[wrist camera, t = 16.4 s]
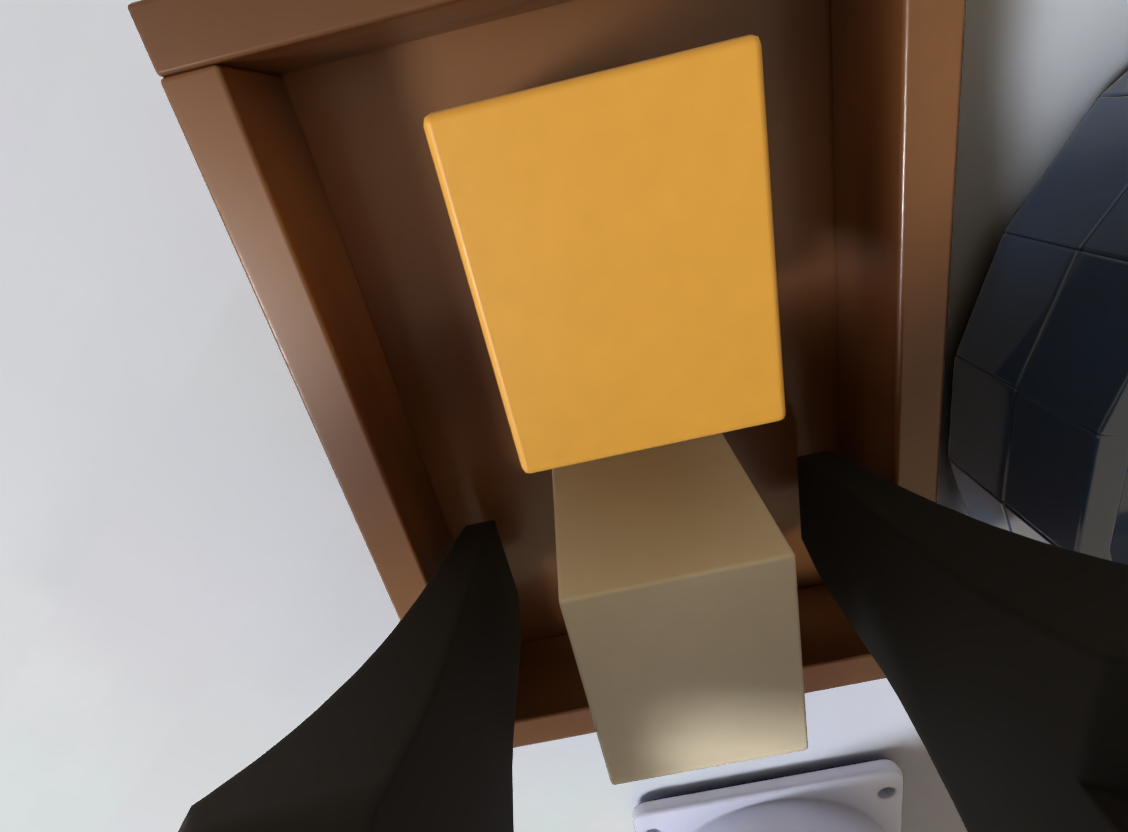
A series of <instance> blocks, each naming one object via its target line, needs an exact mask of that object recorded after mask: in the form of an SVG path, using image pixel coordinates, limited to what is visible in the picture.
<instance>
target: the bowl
mask: <svg viewBox="0 0 1128 832" xmlns="http://www.w3.org/2000/svg"><path fill="white" fill-rule="evenodd" d="M1005 232H1006V233H1005V234H1003V236H1002V238H1001V240H1000V243H999V245H998V248H997V250H996V253H995V255H994V258H993V260H992V263H991V266H990V268H989V271H988V273H987V276H986V278H985V281H984V283H983V286H982V288H981V291H980V294H979V296H978V299H977V301H976V304H975V306H974V309H973V311H972V314H971V316H970V319H969V322H968V324H967V327H966V329H965V332H964V334H963V337H962V339H961V342H960V344H959V347H958V350H957V356H955V358H954V372H953V387H952V402H951V417H950V433H949V448H948V457H949V462H950V465H951V468H952V471H953V474H954V477H955V479H956V482H957V485H958V488H959V491H960V494H961V497H962V500H963V502H964V505H965V508H966V511H967V514H968V516H969V517H972V518H974V519H977V520H980V521H982V522H985V523H988V524H990V525H993V526H996V527H999V528H1002V529H1005V530H1008V531H1011V532H1013V533H1016V534H1019V535H1022V536H1025V537H1028V538H1031V539H1034V540H1037V541H1041V542H1044V543H1047V544H1051V545H1054V546H1058V547H1061V548H1065V549H1068V550H1072V551H1076V552H1080V553H1083V554H1087V555H1091V556H1095V557H1098V558H1102V559H1106V560H1110V561H1114V562H1118V563H1123V564H1127V565H1128V71H1127V72H1125V73H1124V74H1123V75H1122V76H1121V77H1120V78H1119V79H1118V80H1117V81H1116V82H1114V83H1113V84H1112V85H1111V86H1110V87H1109V88H1108V89H1107V90H1106V91H1105V92H1103V93H1102V95H1101V97H1100V98H1098V99H1097V100H1096V102H1095V103H1094V104H1093V106H1092V107H1091V109H1090V110H1089V111H1088V113H1087V114H1086V116H1085V117H1084V119H1083V120H1082V121H1081V123H1080V124H1079V126H1078V127H1077V128H1076V130H1075V131H1074V133H1073V134H1072V135H1071V137H1070V138H1069V140H1068V141H1067V142H1066V144H1065V145H1064V147H1063V148H1062V150H1061V151H1060V152H1059V154H1058V155H1057V157H1056V158H1055V159H1054V161H1053V162H1052V164H1051V165H1050V166H1049V168H1048V169H1047V171H1046V172H1045V173H1044V175H1043V176H1042V178H1041V179H1040V180H1039V182H1038V183H1037V185H1036V186H1035V188H1034V189H1033V190H1032V192H1031V193H1030V195H1029V196H1028V197H1027V199H1026V200H1025V202H1024V203H1023V204H1022V206H1021V207H1020V209H1019V210H1018V211H1017V213H1016V214H1015V216H1014V217H1013V219H1012V220H1011V221H1010V223H1009V224H1008V226H1007V227H1006V228H1005Z"/></svg>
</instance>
